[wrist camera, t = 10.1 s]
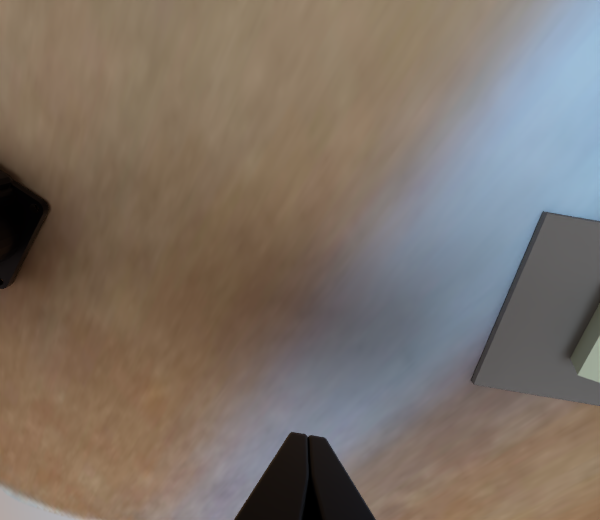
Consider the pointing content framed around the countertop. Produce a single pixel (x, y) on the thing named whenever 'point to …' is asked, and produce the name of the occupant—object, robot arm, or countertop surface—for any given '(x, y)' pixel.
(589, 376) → the domino
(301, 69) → the countertop surface
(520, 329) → the mat
